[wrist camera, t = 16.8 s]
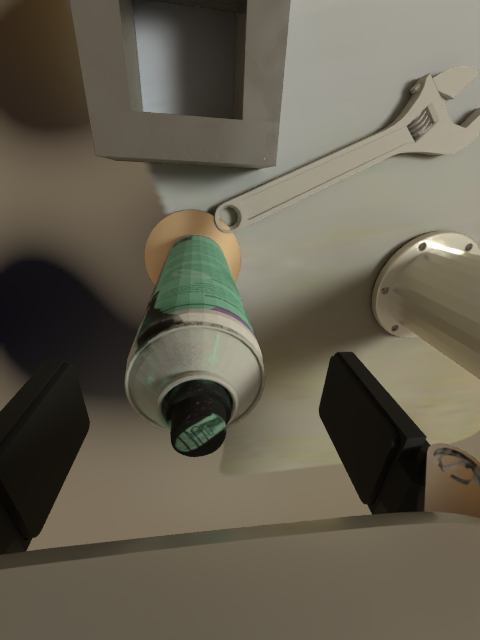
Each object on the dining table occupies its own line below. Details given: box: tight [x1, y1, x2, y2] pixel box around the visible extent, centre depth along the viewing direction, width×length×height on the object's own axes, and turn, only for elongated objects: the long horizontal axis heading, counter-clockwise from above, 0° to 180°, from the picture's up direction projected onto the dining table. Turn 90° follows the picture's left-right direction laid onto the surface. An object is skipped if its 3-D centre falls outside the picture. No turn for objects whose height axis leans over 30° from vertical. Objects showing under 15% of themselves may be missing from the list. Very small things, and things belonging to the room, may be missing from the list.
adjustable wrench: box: [214, 66, 480, 233], centre depth 24 cm, size 25×6×2 cm, turn 108°
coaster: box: [144, 210, 241, 286], centre depth 26 cm, size 9×9×1 cm
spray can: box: [125, 234, 265, 457], centre depth 17 cm, size 6×6×20 cm
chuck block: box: [70, 0, 290, 169], centre depth 18 cm, size 12×12×5 cm
